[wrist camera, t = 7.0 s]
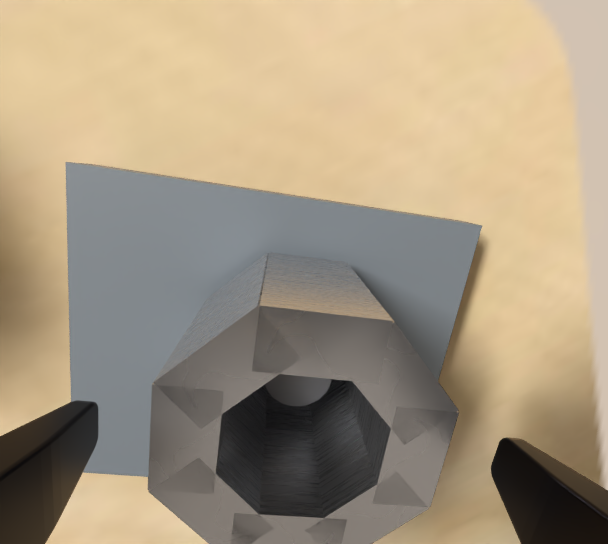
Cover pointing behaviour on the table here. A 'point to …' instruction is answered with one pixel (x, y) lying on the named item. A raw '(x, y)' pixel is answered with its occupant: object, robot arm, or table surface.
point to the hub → (296, 413)
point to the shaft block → (225, 281)
